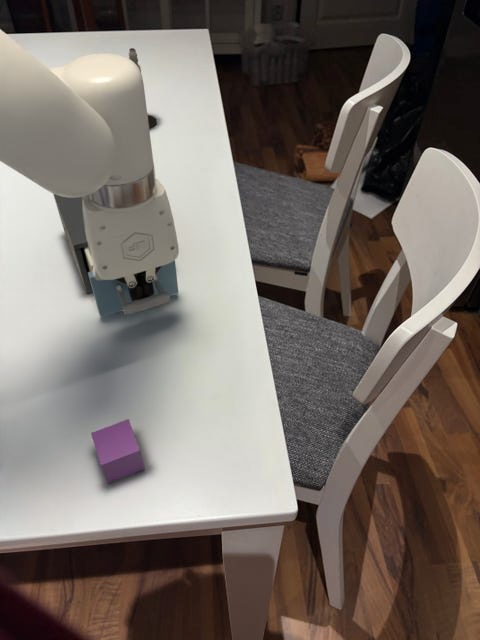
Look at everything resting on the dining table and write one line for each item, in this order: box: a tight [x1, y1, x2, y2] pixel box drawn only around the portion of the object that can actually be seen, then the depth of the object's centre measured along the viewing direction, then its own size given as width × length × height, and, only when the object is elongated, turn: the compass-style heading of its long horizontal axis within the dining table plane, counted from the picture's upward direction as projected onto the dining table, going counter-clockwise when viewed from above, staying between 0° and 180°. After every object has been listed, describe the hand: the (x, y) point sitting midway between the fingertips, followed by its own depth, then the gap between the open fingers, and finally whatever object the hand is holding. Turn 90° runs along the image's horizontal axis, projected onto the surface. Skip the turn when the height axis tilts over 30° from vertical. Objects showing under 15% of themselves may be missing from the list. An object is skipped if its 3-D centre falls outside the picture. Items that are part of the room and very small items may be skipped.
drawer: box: [81, 246, 179, 318], centre depth 74 cm, size 19×11×7 cm, turn 24°
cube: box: [90, 419, 146, 484], centre depth 57 cm, size 4×4×4 cm
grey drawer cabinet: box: [52, 193, 93, 294], centre depth 80 cm, size 15×13×9 cm
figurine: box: [128, 47, 158, 130], centre depth 106 cm, size 7×7×15 cm
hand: (142, 299), depth 70 cm, fingers closed
